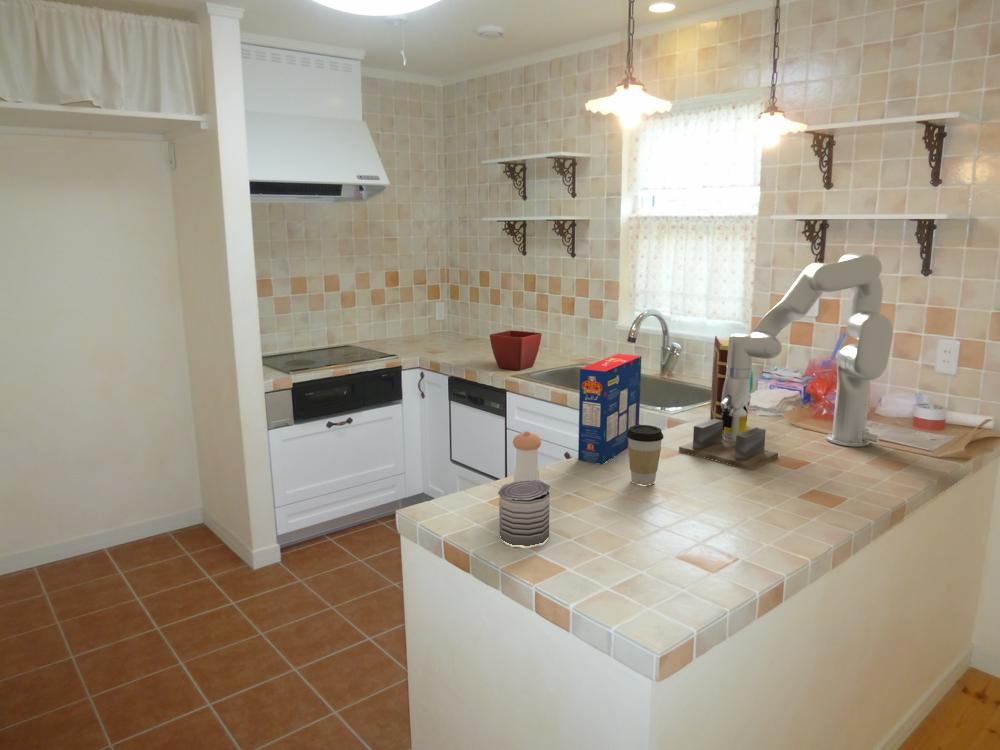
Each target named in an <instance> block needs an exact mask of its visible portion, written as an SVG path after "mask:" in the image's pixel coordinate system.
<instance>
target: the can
mask: <svg viewBox="0 0 1000 750" xmlns="http://www.w3.org/2000/svg"><path fill="white" fill-rule="evenodd" d="M550 488H551V485H550V484H548V483H546V482H544V481H541V479H540V480H519V481H516V482H514V481H513V482H510V483H507V484H503V485H502V486H501V488H500V489H499V491H498V492H497V495H499V497H498V498H499V499H498V500H499V503H498V505H499V507H498V508H499V537H500V536H501V538H500V540H501V539H502V540H503V541H505V542H507V543H509V544H512V545H524V546H530V545H535V544H539V543H543V542H544V541H545V540H546V539H547V538H548V537H549V538H550V492H549V490H550Z"/></svg>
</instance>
